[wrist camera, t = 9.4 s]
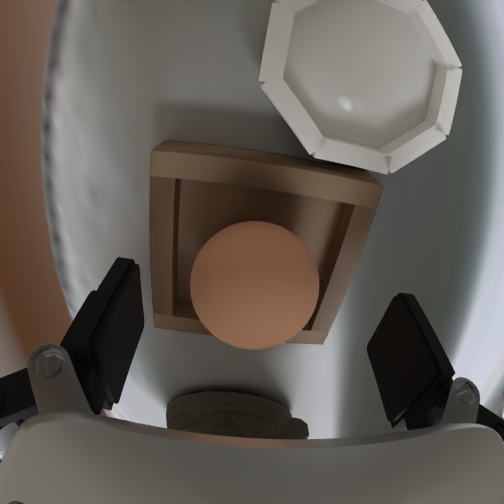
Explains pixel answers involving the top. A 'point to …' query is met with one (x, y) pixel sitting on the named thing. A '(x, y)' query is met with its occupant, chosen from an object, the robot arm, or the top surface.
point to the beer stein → (233, 416)
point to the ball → (254, 285)
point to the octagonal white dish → (361, 78)
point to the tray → (253, 209)
